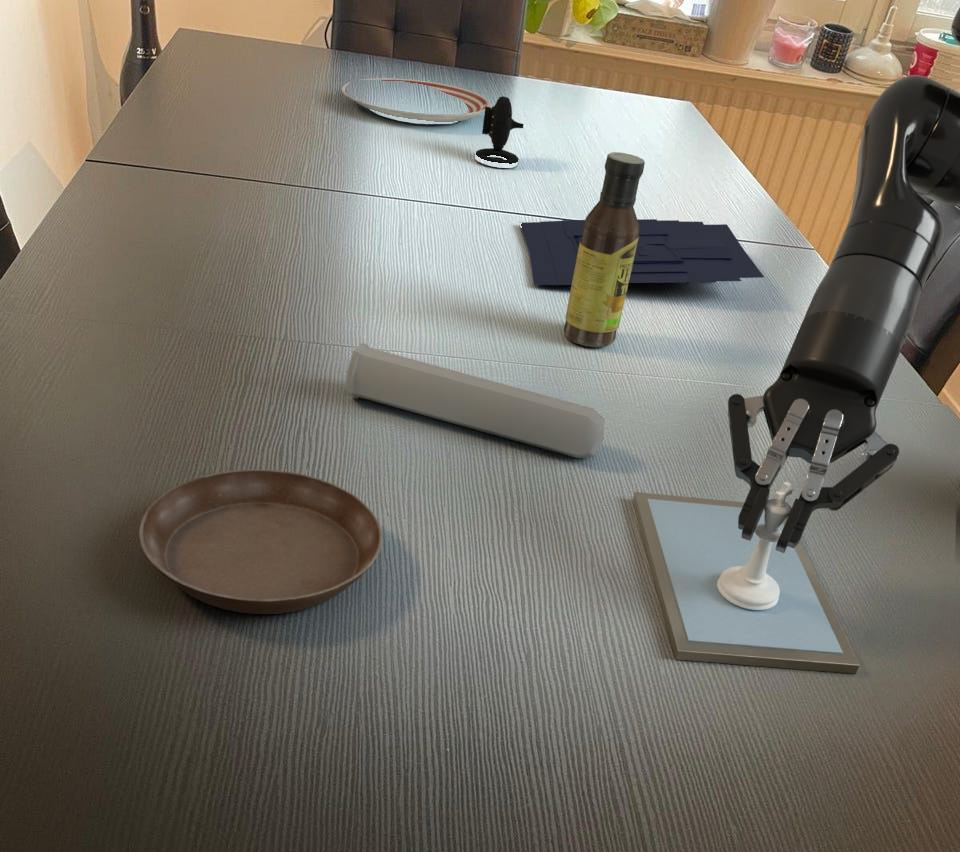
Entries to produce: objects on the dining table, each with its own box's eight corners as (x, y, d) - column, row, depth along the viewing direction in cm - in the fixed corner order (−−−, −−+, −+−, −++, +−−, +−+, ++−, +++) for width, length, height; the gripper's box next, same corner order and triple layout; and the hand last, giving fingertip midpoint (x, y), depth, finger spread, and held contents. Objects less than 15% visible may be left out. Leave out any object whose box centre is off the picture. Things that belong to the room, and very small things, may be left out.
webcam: (474, 153, 174) (482, 88, 167) (518, 159, 174) (527, 95, 168) (472, 165, 168) (480, 99, 161) (517, 172, 168) (527, 106, 162)
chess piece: (704, 585, 81) (740, 476, 75) (741, 565, 84) (779, 459, 77) (753, 618, 79) (795, 509, 72) (790, 597, 81) (833, 490, 75)
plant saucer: (226, 476, 86) (225, 444, 85) (416, 539, 83) (419, 507, 81) (91, 584, 73) (86, 549, 71) (310, 664, 70) (311, 630, 68)
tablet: (780, 514, 94) (784, 504, 93) (855, 674, 77) (860, 664, 76) (632, 500, 92) (634, 490, 91) (675, 660, 75) (678, 649, 75)
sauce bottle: (612, 355, 116) (653, 170, 104) (558, 344, 117) (593, 159, 104) (617, 334, 121) (657, 155, 109) (566, 323, 122) (599, 144, 109)
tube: (614, 407, 97) (371, 341, 101) (607, 413, 92) (351, 343, 96) (599, 462, 99) (361, 395, 103) (592, 470, 94) (341, 400, 98)
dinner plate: (316, 110, 181) (316, 90, 179) (375, 85, 202) (377, 66, 200) (460, 144, 177) (462, 123, 175) (506, 114, 198) (509, 95, 196)
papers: (764, 304, 131) (770, 276, 129) (532, 307, 130) (534, 278, 128) (720, 239, 150) (724, 213, 148) (517, 241, 149) (518, 215, 146)
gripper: (765, 284, 75) (673, 497, 74) (955, 339, 71) (861, 564, 70) (761, 330, 82) (677, 525, 81) (933, 382, 79) (848, 587, 78)
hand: (763, 542), depth 76 cm, fingers closed on chess piece
